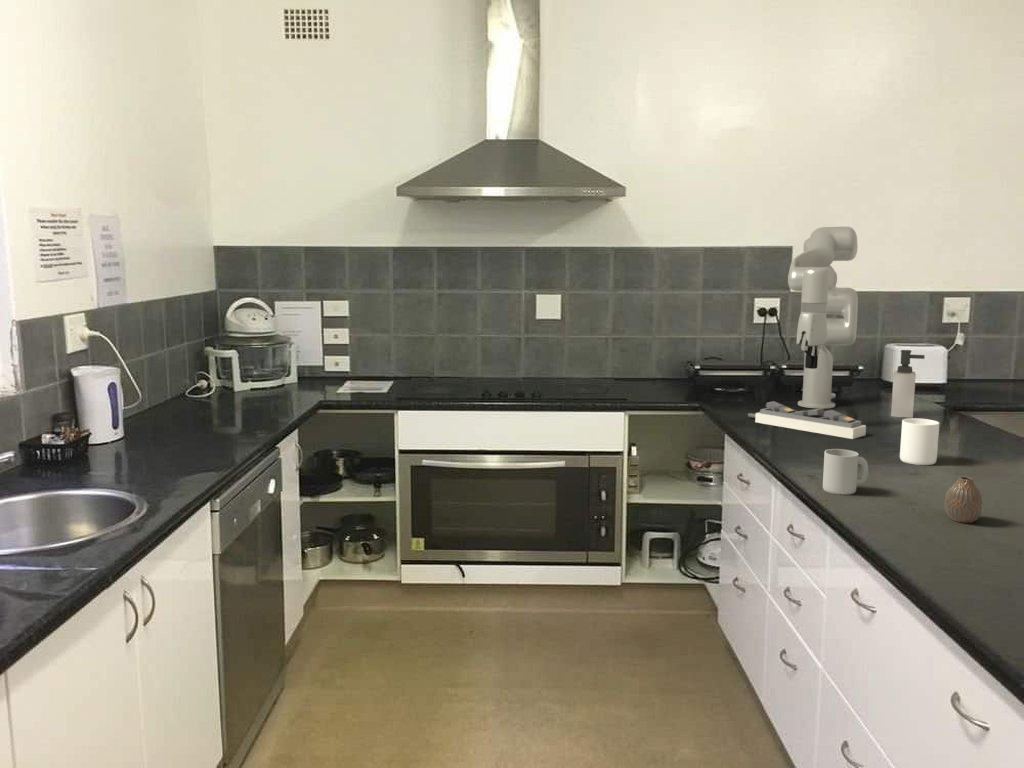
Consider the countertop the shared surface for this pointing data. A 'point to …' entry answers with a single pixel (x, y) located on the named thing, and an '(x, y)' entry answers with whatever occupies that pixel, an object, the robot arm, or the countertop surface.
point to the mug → (919, 441)
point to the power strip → (810, 423)
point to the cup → (843, 471)
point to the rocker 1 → (779, 407)
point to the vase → (964, 501)
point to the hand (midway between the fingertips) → (811, 368)
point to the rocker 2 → (810, 412)
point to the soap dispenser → (904, 387)
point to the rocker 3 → (838, 416)
